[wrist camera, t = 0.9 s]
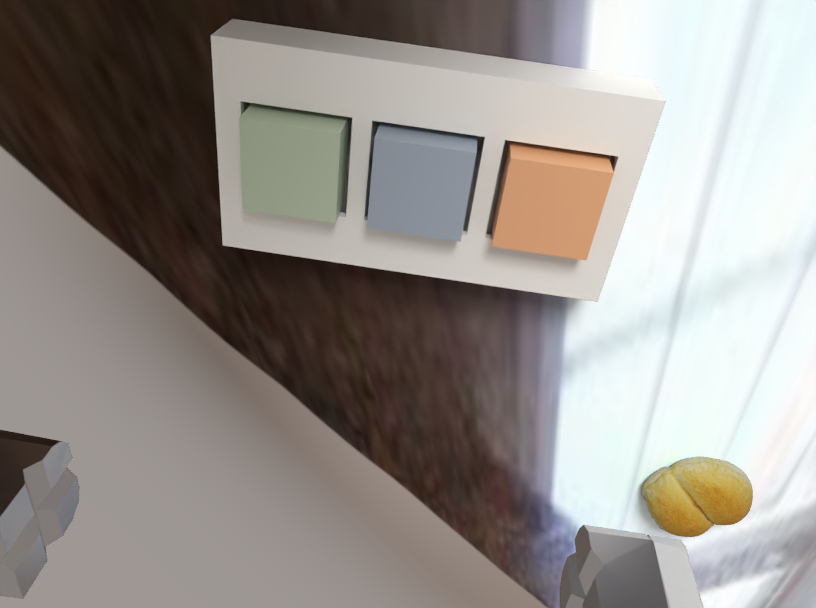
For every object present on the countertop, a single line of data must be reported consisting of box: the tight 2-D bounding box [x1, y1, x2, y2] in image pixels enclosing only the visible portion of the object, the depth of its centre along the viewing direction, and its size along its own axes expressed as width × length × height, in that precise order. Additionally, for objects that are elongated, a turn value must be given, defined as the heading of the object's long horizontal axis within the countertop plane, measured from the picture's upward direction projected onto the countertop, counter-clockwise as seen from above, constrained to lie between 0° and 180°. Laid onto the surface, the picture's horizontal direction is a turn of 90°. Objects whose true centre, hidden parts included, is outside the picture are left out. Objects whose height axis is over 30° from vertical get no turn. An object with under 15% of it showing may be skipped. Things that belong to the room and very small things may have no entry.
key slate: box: [367, 122, 478, 242], centre depth 42 cm, size 6×6×3 cm
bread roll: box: [642, 457, 753, 537], centre depth 60 cm, size 8×9×4 cm
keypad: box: [211, 19, 666, 302], centre depth 44 cm, size 14×26×4 cm, turn 84°
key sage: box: [239, 103, 349, 223], centre depth 43 cm, size 6×6×3 cm
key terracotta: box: [492, 141, 614, 261], centre depth 42 cm, size 6×6×3 cm
